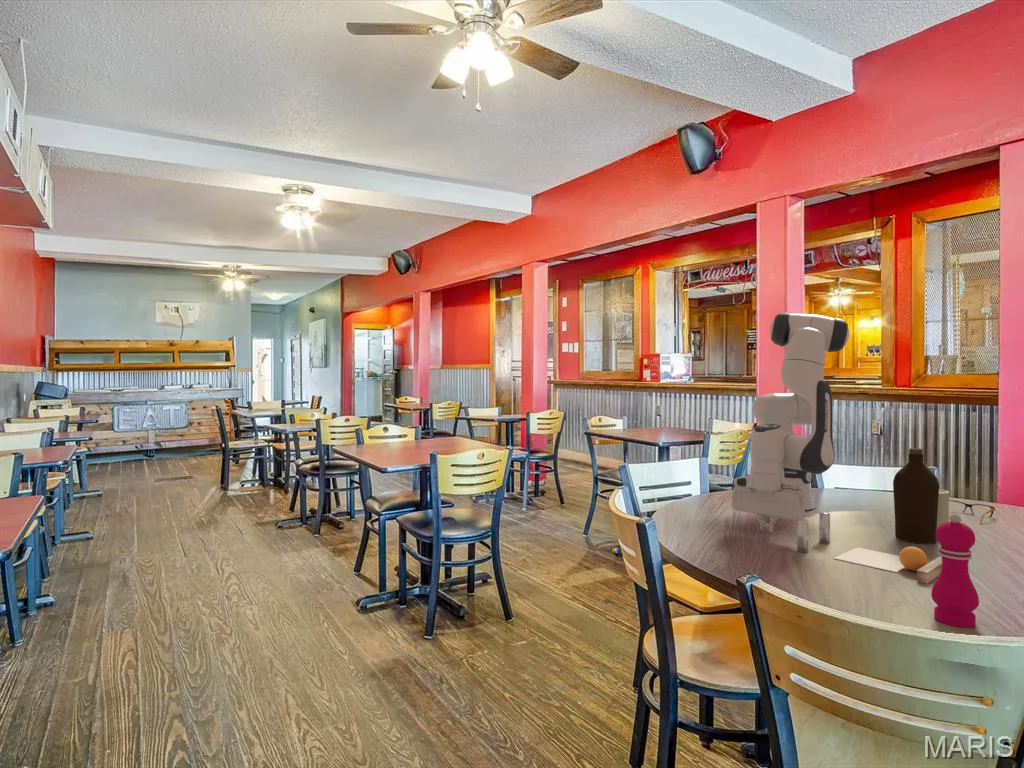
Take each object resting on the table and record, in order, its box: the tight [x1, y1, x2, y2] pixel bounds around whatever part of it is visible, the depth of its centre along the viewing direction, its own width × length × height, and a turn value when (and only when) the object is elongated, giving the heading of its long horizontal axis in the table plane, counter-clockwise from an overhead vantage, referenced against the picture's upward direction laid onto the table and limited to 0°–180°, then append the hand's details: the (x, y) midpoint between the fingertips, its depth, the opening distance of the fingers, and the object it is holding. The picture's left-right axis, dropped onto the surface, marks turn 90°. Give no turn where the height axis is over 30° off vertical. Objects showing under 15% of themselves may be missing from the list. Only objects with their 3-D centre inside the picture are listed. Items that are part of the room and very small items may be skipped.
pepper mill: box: [930, 513, 980, 628], centre depth 114 cm, size 7×7×20 cm
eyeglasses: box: [949, 499, 996, 525], centre depth 195 cm, size 14×14×4 cm
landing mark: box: [833, 547, 906, 574], centre depth 151 cm, size 14×14×1 cm
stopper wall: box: [916, 555, 942, 584], centre depth 141 cm, size 2×20×2 cm, turn 129°
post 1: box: [796, 518, 809, 553], centre depth 159 cm, size 3×3×8 cm
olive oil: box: [892, 447, 940, 544], centre depth 169 cm, size 11×11×25 cm
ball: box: [898, 546, 928, 572], centre depth 143 cm, size 6×6×6 cm
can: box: [937, 488, 950, 528], centre depth 179 cm, size 9×9×12 cm
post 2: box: [818, 511, 831, 545], centre depth 167 cm, size 3×3×8 cm
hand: (767, 530), depth 173 cm, fingers closed
